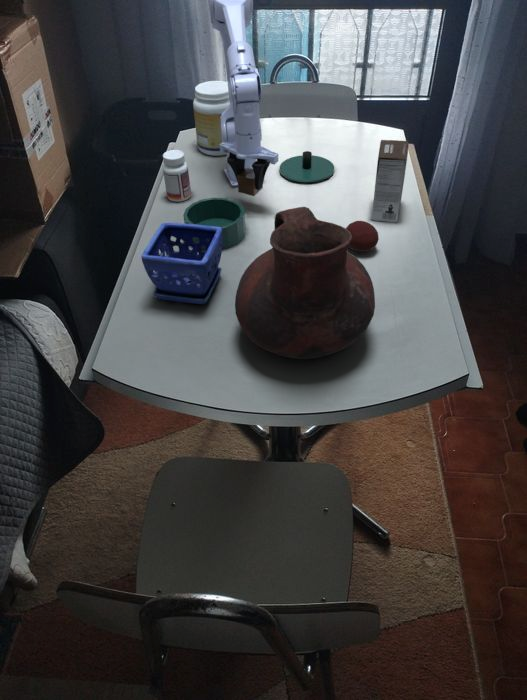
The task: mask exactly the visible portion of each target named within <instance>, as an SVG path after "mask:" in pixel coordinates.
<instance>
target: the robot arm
mask: <svg viewBox="0 0 527 700" xmlns="http://www.w3.org/2000/svg"><path fill="white" fill-rule="evenodd" d="M208 10H209V16H210V24H211V26H212V29H214V30H216V31H218V32H219V34H220V36H221V39H222V44H223V50H224V61H225V70H226V71H225V72H226V82H228V92H229V102H230V105H229V106H228V107H227V108H226V109H225V110H224V111H223V112H222V113H221V116H220V122H221V123H220V127H221V137H222V143H221V144H220V153H225V152H226V153H227V154H226V164H227V168H224V170H223V171H224V173H225V175H226V177H227V180H228V181H229V184H230V185H231V187H238V180H237V175H238V174H239V173H241V172H242V171H243V170H244V169H245V168H250V169H253V170H254V175H255V185H256V189H257V190H259V189H260V188H261V187H263V188H264V181H265V176H266V174H267V171H268V169H269V166H270V165H273V166H274V165H276V164H277V163H278V162H279V152H275V151H272V150H270V149H268V148H266V147H264V146H262V144H261V143H262V139H263V138H262V137H263V136H262V125H261V113H260V112H261V110H260V109H261V108H260V102H262V97H263V86H262V80H261V75H260V72H259V70H258V68H256V62H255V56H254V50H253V47H252V45H251V44H249V43H248V42H247V37H246V36H247V33H246V32H247V31H246V29H247V28H248V27H250V26H251V21H252V17H253V11H254V0H208ZM229 118H234V120H227V119H229Z"/></svg>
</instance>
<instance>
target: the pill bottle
mask: <svg viewBox="0 0 527 700" xmlns="http://www.w3.org/2000/svg"><path fill="white" fill-rule="evenodd" d="M162 160H163V165H162V173H163V179H164V185H165V192H166V197H167V198H168V200H170V201H171V202H174V203H175V202H185V201H187V200H188V199H190V198H191V196H192V189H191V180H190V173H189V166H188V163H187V162H186V161H185V160H186V158H185V152H183V151H182V150H180V149H170V150H167V151H165V152H164V153H162Z"/></svg>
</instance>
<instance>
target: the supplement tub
mask: <svg viewBox="0 0 527 700" xmlns="http://www.w3.org/2000/svg"><path fill="white" fill-rule="evenodd" d="M194 96H195V97H194V99H193V102H192V107H193V116H194V125H195V126H194V127H195V135H196V143H197V144H196V145H197V149H198V150H199V151H200V152H201V153H203V154H205V155H207V156H215V157H217V156H218V157H219V156H225V155H226V156H227V153H226V152H225V153H220V144H221V143H222V137H221V127H220V123H221V122H220V116H221V113H222V112H223V111H224V110H225V109H226V108H227V107H228V106H229V105H230V102H229V92H228V82H227V81H225V80H209V81H204V82H201V83H198V84H197V85H196V86H195V88H194ZM227 120H234V118H229V119H227Z"/></svg>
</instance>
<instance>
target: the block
mask: <svg viewBox="0 0 527 700" xmlns="http://www.w3.org/2000/svg"><path fill="white" fill-rule="evenodd" d="M237 180H238V186H237V193H240V194H244V195H248V196H252V197H255V196H256V195H257V194H258V193H259V192H260V191H262V190H263V188H264V186H263V187H261V188H260V189H259V190H257V189H256V185H255V175H254V170H253V169H250V168H245V169H244V170H243V171H242V172H241V173H239V174H238V175H237Z"/></svg>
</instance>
